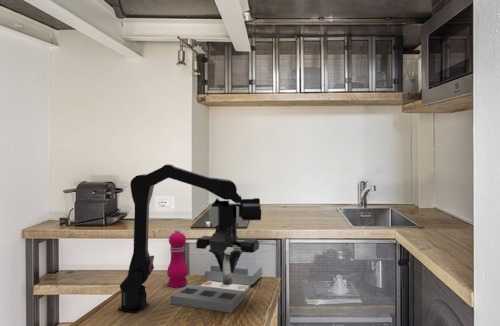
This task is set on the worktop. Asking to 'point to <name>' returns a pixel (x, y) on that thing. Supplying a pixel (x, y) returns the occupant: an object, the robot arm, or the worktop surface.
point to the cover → (235, 274)
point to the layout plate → (220, 285)
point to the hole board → (208, 298)
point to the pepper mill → (177, 260)
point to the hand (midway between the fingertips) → (227, 272)
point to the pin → (227, 269)
